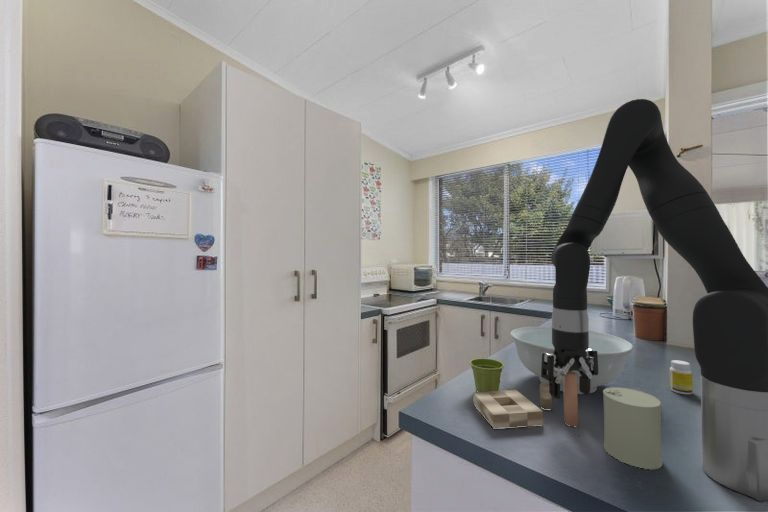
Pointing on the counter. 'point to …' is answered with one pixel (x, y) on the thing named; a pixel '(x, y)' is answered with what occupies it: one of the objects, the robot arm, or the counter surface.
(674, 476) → the counter surface
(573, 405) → the long dowel
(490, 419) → the socket block
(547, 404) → the short dowel
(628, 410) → the can
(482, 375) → the plant pot
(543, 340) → the bowl
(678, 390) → the supplement bottle
